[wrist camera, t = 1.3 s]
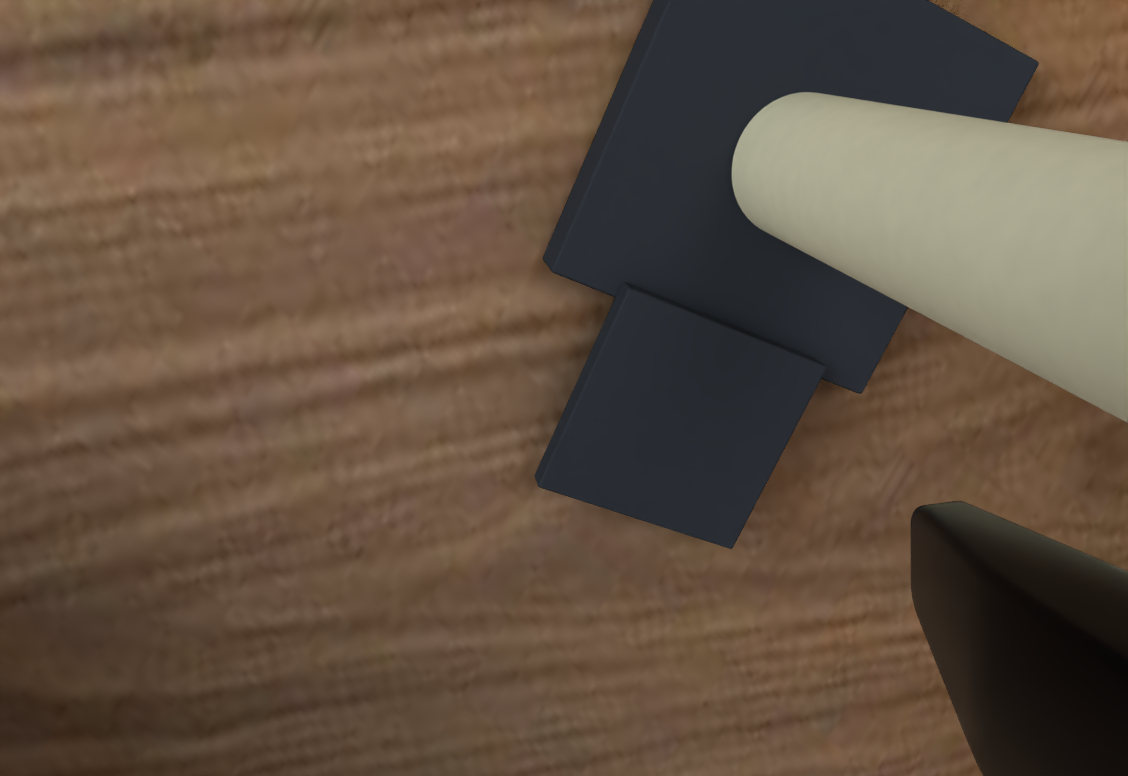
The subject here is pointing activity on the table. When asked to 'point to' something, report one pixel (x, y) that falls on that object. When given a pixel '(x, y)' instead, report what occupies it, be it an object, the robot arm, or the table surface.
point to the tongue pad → (709, 270)
